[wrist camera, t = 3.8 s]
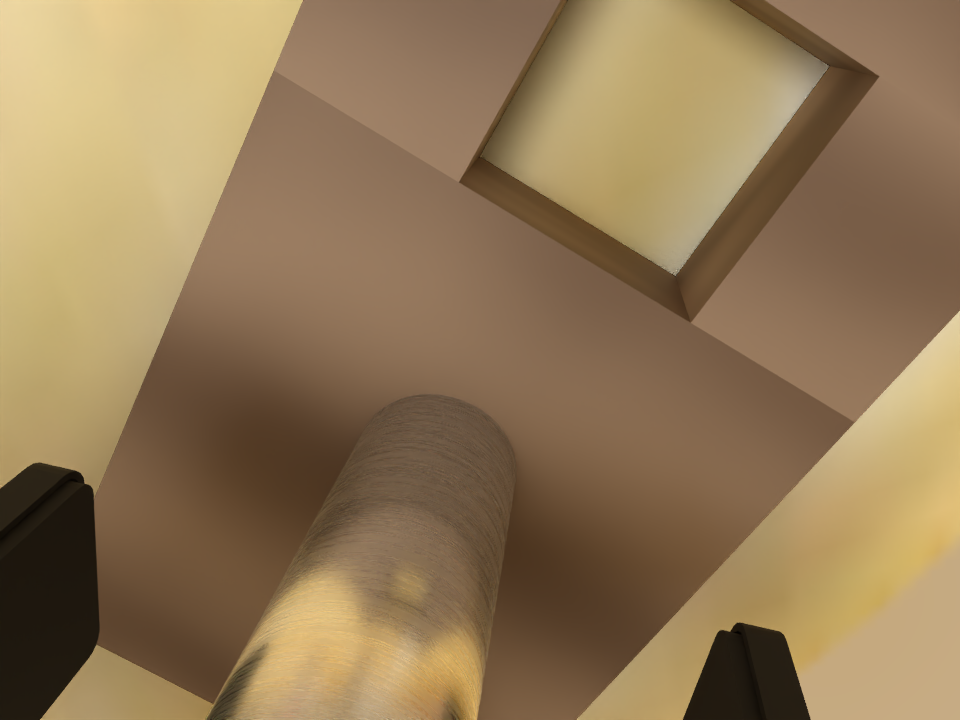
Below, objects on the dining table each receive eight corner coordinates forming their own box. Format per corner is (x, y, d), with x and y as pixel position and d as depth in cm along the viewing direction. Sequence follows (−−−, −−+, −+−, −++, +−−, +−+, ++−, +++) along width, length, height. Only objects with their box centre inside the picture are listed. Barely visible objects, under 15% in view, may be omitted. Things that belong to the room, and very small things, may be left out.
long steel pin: (417, 555, 15) (166, 1330, 6) (325, 439, 15) (-111, 1135, 6) (547, 493, 14) (472, 1303, 5) (458, 365, 14) (193, 1064, 5)
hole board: (481, 745, 21) (468, 834, 19) (107, 548, 20) (44, 617, 17) (1092, 45, 13) (1202, 51, 10) (511, -358, 12) (490, -448, 9)
